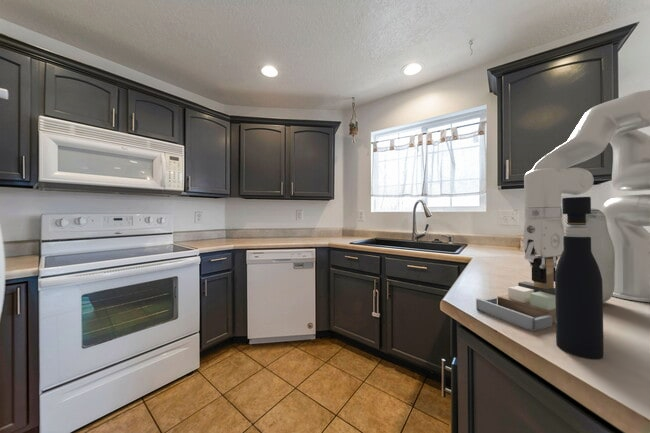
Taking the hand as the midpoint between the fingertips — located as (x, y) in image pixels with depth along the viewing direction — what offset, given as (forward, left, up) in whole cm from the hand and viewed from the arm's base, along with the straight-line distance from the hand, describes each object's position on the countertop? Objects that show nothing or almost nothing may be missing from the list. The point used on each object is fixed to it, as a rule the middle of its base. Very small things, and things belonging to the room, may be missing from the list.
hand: (543, 280), depth 66 cm
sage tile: (+5, +3, -5) cm, 8 cm away
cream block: (+5, -2, -5) cm, 8 cm away
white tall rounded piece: (-19, +1, -8) cm, 21 cm away
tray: (+12, 0, -8) cm, 15 cm away
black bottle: (+16, +15, -8) cm, 23 cm away
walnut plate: (+3, 0, -8) cm, 9 cm away
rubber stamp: (0, 0, -4) cm, 4 cm away
